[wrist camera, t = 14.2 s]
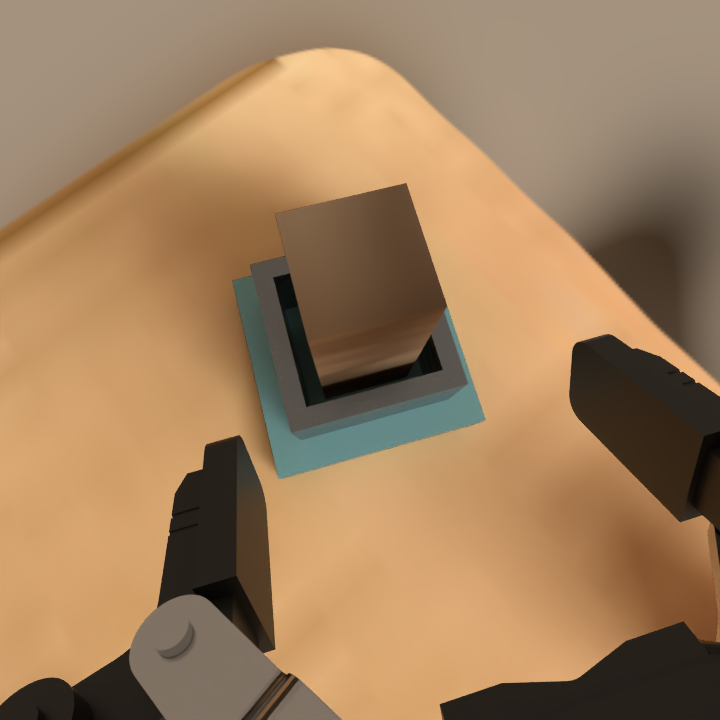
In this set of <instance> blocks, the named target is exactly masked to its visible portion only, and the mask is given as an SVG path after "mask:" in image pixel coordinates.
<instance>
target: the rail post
mask: <svg viewBox="0 0 720 720" xmlns="http://www.w3.org/2000/svg"><path fill="white" fill-rule="evenodd" d="M275 217H276V221H277V224H278V228H279V232H280V236H281V240H282V244H283V248H284V252H285V255H286V259H287V263H288V267H289V271H290V275H291V279H292V283H293V286H294V290H295V294H296V298H297V302H298V306H299V310H300V314H301V317H302V321H303V325H304V329H305V333H306V337H307V341H308V344H309V347H310V351H311V354H312V357H313V360H314V363H315V367H316V370H317V373H318V376H319V380H320V383H321V386H322V389H323V392H324V396H325V399H327V398H331V397H334V396H338V395H342V394H346V393H349V392H353V391H357V390H361V389H364V388H368V387H372V386H376V385H379V384H383V383H387V382H391V381H394V380H398V379H402V378H406V377H407V375H408V374H409V372H410V370H411V368H412V367H413V365H414V363H415V361H416V360H417V358H418V356H419V354H420V353H421V351H422V349H423V347H424V346H425V344H426V342H427V340H428V339H429V337H430V335H431V333H432V332H433V330H434V328H435V327H436V325H437V323H438V321H439V320H440V318H441V316H442V314H443V313H444V311H445V309H446V307H447V304H446V301H445V298H444V295H443V292H442V289H441V286H440V283H439V280H438V277H437V274H436V271H435V268H434V265H433V262H432V259H431V256H430V253H429V250H428V247H427V244H426V241H425V238H424V235H423V232H422V229H421V226H420V223H419V220H418V217H417V214H416V211H415V208H414V205H413V202H412V199H411V196H410V193H409V190H408V187H407V184H406V183H405V184H401V185H397V186H392V187H388V188H384V189H379V190H375V191H371V192H366V193H362V194H358V195H353V196H349V197H345V198H341V199H336V200H332V201H328V202H323V203H319V204H315V205H310V206H306V207H302V208H298V209H293V210H289V211H285V212H280V213H276V214H275Z"/></svg>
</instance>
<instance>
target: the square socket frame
mask: <svg viewBox="0 0 720 720" xmlns="http://www.w3.org/2000/svg"><path fill="white" fill-rule="evenodd" d="M250 267H251V272H252V276H253V280H254V284H255V288H256V292H257V296H258V300H259V304H260V308H261V312H262V317H263V321H264V325H265V329H266V333H267V337H268V341H269V345H270V349H271V353H272V357H273V362H274V366H275V370H276V374H277V378H278V382H279V386H280V390H281V394H282V398H283V402H284V407H285V411H286V415H287V419H288V423H289V427H290V431H291V433H292V434H293V435H295V436H296V437H297V438H299V439H300V440H304V439H308V438H311V437H315V436H319V435H322V434H326V433H329V432H333V431H337V430H340V429H344V428H347V427H351V426H355V425H358V424H362V423H365V422H369V421H373V420H376V419H380V418H383V417H387V416H391V415H394V414H398V413H401V412H405V411H409V410H412V409H416V408H419V407H423V406H427V405H430V404H434V403H437V402H441V401H445V400H448V399H450V398H451V397H452V396H453V395H455V394H456V393H457V392H459V391H460V390H461V389H462V388H464V387H465V386H466V385H468V381H467V378H466V375H465V372H464V369H463V366H462V363H461V360H460V357H459V354H458V351H457V348H456V345H455V342H454V340H453V337H452V334H451V331H450V328H449V325H448V322H447V319H446V316H445V313H443V314H442V316H441V318H440V320H439V321H438V323H437V325H436V327H435V328H434V330H433V332H432V333H431V335H430V337H429V339H428V340H427V342H426V344H425V346H424V347H423V349H422V351H421V353H420V354H419V356H418V360H419V363H420V366H421V370H422V373H423V376H419V377H416V378H412V379H408V380H405V381H401V382H397V383H393V384H390V385H386V386H382V387H379V388H375V389H371V390H368V391H364V392H360V393H357V394H353V395H349V396H346V397H342V398H338V399H335V400H331V401H327V402H324V403H320V404H316V405H313V406H310V403H309V399H308V396H307V392H306V388H305V384H304V380H303V376H302V372H301V368H300V364H299V360H298V357H297V353H296V349H295V345H294V341H293V337H292V333H291V329H290V325H289V321H288V318H287V314H286V310H287V309H290V308H294V307H298V302H297V298H296V294H295V290H294V286H293V283H292V279H291V275H290V271H289V267H288V263H287V259H286V256H284V257H279V258H275V259H271V260H267V261H263V262H259V263H255V264H251V265H250Z"/></svg>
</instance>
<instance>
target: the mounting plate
mask: <svg viewBox="0 0 720 720" xmlns="http://www.w3.org/2000/svg"><path fill="white" fill-rule="evenodd" d="M232 281H233V286H234V290H235V294H236V299H237V303H238V307H239V311H240V316H241V320H242V324H243V329H244V333H245V337H246V341H247V346H248V350H249V354H250V358H251V363H252V367H253V371H254V376H255V380H256V384H257V388H258V393H259V397H260V401H261V406H262V410H263V414H264V418H265V423H266V427H267V431H268V436H269V440H270V444H271V448H272V453H273V457H274V461H275V466H276V470H277V474H278V478H279V479H283V478H287V477H290V476H294V475H297V474H301V473H304V472H308V471H311V470H315V469H318V468H322V467H325V466H329V465H332V464H336V463H339V462H343V461H347V460H350V459H354V458H357V457H361V456H364V455H368V454H371V453H375V452H378V451H382V450H385V449H389V448H392V447H396V446H399V445H403V444H406V443H410V442H414V441H417V440H421V439H424V438H428V437H431V436H435V435H438V434H442V433H445V432H449V431H452V430H456V429H459V428H463V427H466V426H470V425H474V424H477V423H480V422H482V421H484V420H485V417H484V414H483V411H482V408H481V405H480V402H479V399H478V396H477V393H476V390H475V387H474V384H473V381H472V378H471V375H470V372H469V369H468V366H467V364H466V361H465V358H464V355H463V352H462V349H461V346H460V343H459V340H458V337H457V334H456V331H455V328H454V325H453V322H452V319H451V316H450V313H449V310H448V307H446V309H445V311H444V313H445V316H446V319H447V322H448V325H449V328H450V331H451V334H452V337H453V340H454V342H455V345H456V348H457V351H458V354H459V357H460V360H461V363H462V366H463V369H464V372H465V375H466V378H467V381H468V385H466V386H465V387H464V388H462V389H461V390H460V391H459V392H457V393H456V394H455V395H453V396H452V397H451V398H450V399H448V400H445V401H441V402H437V403H434V404H430V405H427V406H423V407H419V408H416V409H412V410H409V411H405V412H401V413H398V414H394V415H391V416H387V417H383V418H380V419H376V420H373V421H369V422H365V423H362V424H358V425H355V426H351V427H347V428H344V429H340V430H337V431H333V432H329V433H326V434H322V435H319V436H315V437H311V438H308V439H304V440H300V439H299V438H297V437H296V436H295V435H293V434H292V433H291V431H290V427H289V423H288V419H287V415H286V411H285V407H284V402H283V398H282V394H281V390H280V386H279V382H278V378H277V374H276V370H275V366H274V362H273V357H272V353H271V349H270V345H269V341H268V337H267V333H266V329H265V325H264V321H263V317H262V312H261V308H260V304H259V300H258V296H257V292H256V288H255V284H254V280H253V276H248V277H244V278H240V279H236V280H232ZM286 314H287V318H288V321H289V325H290V329H291V333H292V337H293V341H294V345H295V349H296V353H297V357H298V360H299V364H300V368H301V372H302V376H303V380H304V384H305V388H306V392H307V396H308V399H309V403H310V406H313V405H316V404H320V403H324V402H327V401H331V400H335V399H338V398H342V397H346V396H349V395H353V394H357V393H360V392H364V391H368V390H371V389H375V388H379V387H382V386H386V385H390V384H393V383H397V382H401V381H405V380H408V379H412V378H416V377H419V376H423V373H422V370H421V366H420V363H419V360H418V358H417V360H416V361H415V363H414V365H413V367H412V368H411V370H410V372H409V374H408V375H407V377H406V378H402V379H398V380H394V381H391V382H387V383H383V384H379V385H376V386H372V387H368V388H364V389H361V390H357V391H353V392H349V393H346V394H342V395H338V396H334V397H331V398H327V399H325V396H324V392H323V389H322V386H321V383H320V380H319V376H318V373H317V370H316V367H315V363H314V360H313V357H312V354H311V351H310V347H309V344H308V341H307V337H306V333H305V329H304V325H303V321H302V317H301V314H300V310H299V306H298V307H294V308H290V309H287V310H286Z"/></svg>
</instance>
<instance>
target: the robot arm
mask: <svg viewBox="0 0 720 720" xmlns="http://www.w3.org/2000/svg"><path fill="white" fill-rule="evenodd" d="M569 397H570V403H571V406H572V409H573V411H574V413H575V415H576V416H577V417H578V419H579V420H580V421H581V422H582V423H583V424H584V425H585V426H586V427H587V428H588V429H589V430H590V431H591V432H592V433H593V434H594V435H595V436H596V437H597V438H598V439H599V440H600V441H601V442H602V443H603V444H604V445H605V446H606V447H607V448H608V449H609V450H610V451H611V452H612V453H613V455H614V456H615V457H616V458H617V459H618V460H619V461H620V462H621V463H622V464H623V465H624V466H625V467H626V468H627V469H628V470H629V471H630V472H631V473H632V474H633V475H634V476H635V477H636V478H637V479H638V480H639V481H640V482H641V483H642V484H643V485H644V486H645V487H646V488H647V489H648V490H649V491H650V492H651V493H652V494H653V495H654V496H655V497H656V498H657V499H658V500H659V501H660V502H661V503H662V504H663V505H664V506H665V507H666V508H667V509H668V510H669V511H670V512H671V514H672V515H673V516H674V517H675V518H676V519H677V520H678V521H679V522H682V521H685V520H689V519H692V518H695V517H698V516H701V515H703V516H704V517H705V518H706V519H707V520H709V521H710V525H709V528H708V541H709V549H710V556H711V564H712V572H713V580H714V587H715V595H716V603H717V611H718V627H717V635H716V642H712V641H701V640H700V641H699V640H698V639H697V638H696V636H695V635H694V634H693V633H692V632H691V630H690V629H689V628H688V627H687V625H686V624H685V623H684V622H681V623H678V624H675V625H672V626H669V627H666V628H663V629H660V630H657V631H654V632H651V633H649V634H646V635H643V636H640V637H637V638H634V639H631V640H628V641H625V642H624V643H623V644H622V645H620V646H619V647H618V648H616V649H615V650H614V651H613V652H611V653H610V654H609V655H608V656H606V657H605V658H604V659H602V660H601V661H600V662H599V663H597V664H596V665H595V666H593V667H592V668H591V669H590V670H588V671H587V672H586V673H585V674H583V675H582V676H581V677H579V678H577V679H575V680H572V681H559V682H527V683H501V684H498V685H495V686H492V687H489V688H486V689H483V690H481V691H478V692H475V693H472V694H469V695H466V696H463V697H460V698H457V699H454V700H451V701H448V702H445V703H442V704H440V709H441V714H442V719H443V720H720V397H719V396H718V395H716V394H715V393H714V392H712V391H711V390H709V389H708V388H706V387H705V386H703V385H702V384H700V383H695V380H694V379H693V378H691V377H690V376H688V375H687V374H685V373H684V372H681V373H680V371H679V369H678V368H676V367H675V366H673V365H672V364H670V363H669V362H667V361H666V360H664V359H663V358H661V357H660V356H657V355H654V354H651V353H648V352H645V351H643V350H640V349H637V348H635V349H632V348H630V347H629V346H627V345H626V344H625V343H623V342H622V341H620V340H619V339H617V338H616V337H615V336H613V335H610V334H606V335H602V336H599V337H595V338H591V339H588V340H584V341H581V342H577V343H576V344H575V345H574V347H573V351H572V363H571V377H570V391H569ZM172 517H173V518H172V519H171V523H170V530H169V532H170V536H168V543H167V549H166V556H165V562H164V569H163V576H162V582H161V589H160V595H159V602H158V606H157V609H156V610H154V611H153V612H152V613H151V614H150V615H149V616H148V617H147V618H146V620H145V621H144V622H143V623H142V625H141V626H140V628H139V629H138V631H137V633H136V635H135V637H134V639H133V642H132V645H131V648H130V649H129V650H127V651H126V652H125V653H124V654H123V655H121V656H120V657H118V658H117V659H115V660H114V661H112V662H111V663H109V664H108V665H106V666H104V667H103V668H101V669H100V670H98V671H97V672H95V673H93V674H92V675H90V676H89V677H87V678H85V679H84V680H82V681H81V682H79V683H78V684H76V685H74V686H73V687H71V686H70V685H69V684H68V683H67V682H65V681H64V680H62V679H59V678H44V679H41V680H37V681H35V682H33V683H30V684H28V685H26V686H25V687H23V688H21V689H20V690H18V691H17V692H16V693H14V694H13V695H11V696H10V697H9V698H8V699H7V700H6V701H5V702H3V703H2V704H1V705H0V720H342V719H341V718H340V717H339V716H338V715H336V714H335V713H334V712H333V711H332V710H331V709H330V708H329V707H328V706H327V705H326V704H325V703H324V702H323V701H322V700H321V699H320V698H319V697H318V696H317V695H316V694H315V693H314V692H313V691H312V690H310V689H309V688H308V687H307V686H306V685H305V684H304V683H303V682H302V681H301V680H299V679H298V678H297V677H296V676H294V675H293V674H290V673H288V675H286V674H285V673H283V672H282V671H281V670H280V669H278V668H277V667H276V666H275V665H274V664H273V663H272V662H271V661H270V660H269V659H268V658H267V657H266V656H265V655H264V654H263V653H265V652H268V651H272V650H275V637H274V621H273V606H272V590H271V574H270V558H269V542H268V527H267V511H266V503H265V497H264V493H263V489H262V486H261V483H260V481H259V478H258V476H257V473H256V471H255V468H254V466H253V464H252V461H251V459H250V456H249V454H248V451H247V449H246V446H245V444H244V442H243V440H242V438H241V436H239V435H238V436H234V437H231V438H227V439H224V440H220V441H216V442H213V443H209V444H206V446H205V451H204V462H203V469H202V470H198V471H195V472H191V473H188V474H187V475H186V476H185V478H184V480H183V481H182V483H181V485H180V486H179V488H178V490H177V491H176V493H175V497H174V503H173V510H172Z"/></svg>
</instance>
